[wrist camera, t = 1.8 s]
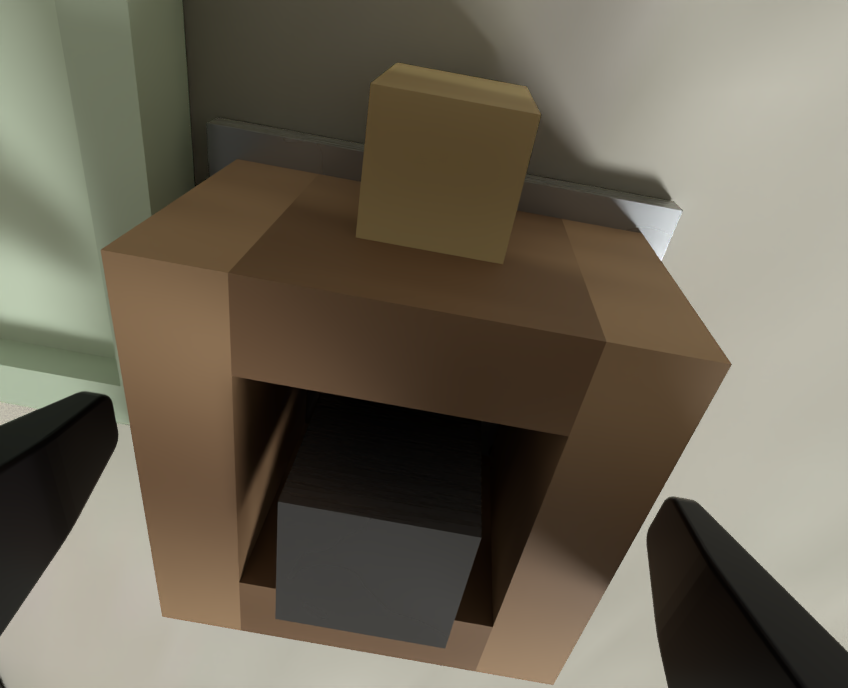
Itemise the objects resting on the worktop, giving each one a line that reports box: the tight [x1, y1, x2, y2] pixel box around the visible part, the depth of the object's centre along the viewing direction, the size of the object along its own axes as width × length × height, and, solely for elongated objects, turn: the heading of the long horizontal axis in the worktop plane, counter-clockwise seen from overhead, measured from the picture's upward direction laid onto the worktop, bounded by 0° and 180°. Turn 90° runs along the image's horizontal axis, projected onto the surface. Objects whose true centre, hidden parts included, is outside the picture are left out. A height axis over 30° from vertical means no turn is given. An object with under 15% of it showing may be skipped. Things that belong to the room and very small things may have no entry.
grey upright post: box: [206, 117, 683, 649], centre depth 9 cm, size 8×8×6 cm
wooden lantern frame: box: [100, 63, 732, 685], centre depth 9 cm, size 9×7×4 cm
